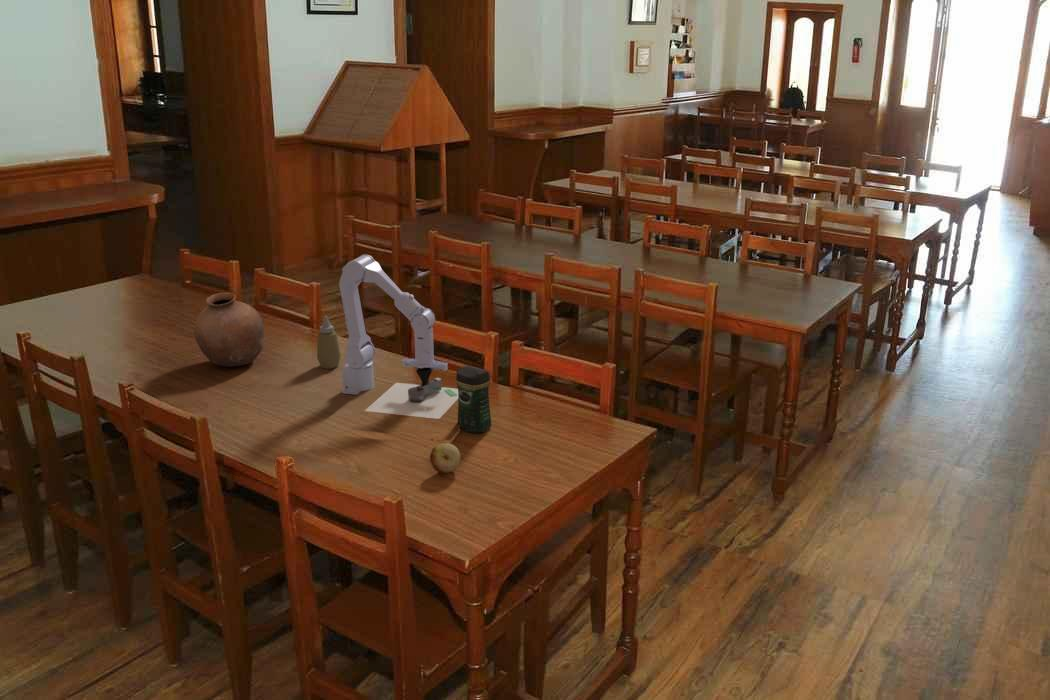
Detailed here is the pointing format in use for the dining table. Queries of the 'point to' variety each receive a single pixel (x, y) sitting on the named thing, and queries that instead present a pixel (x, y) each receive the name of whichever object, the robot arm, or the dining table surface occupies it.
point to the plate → (400, 405)
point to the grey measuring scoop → (424, 390)
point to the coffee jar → (473, 399)
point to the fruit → (445, 457)
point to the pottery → (229, 331)
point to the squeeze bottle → (328, 346)
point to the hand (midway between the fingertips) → (425, 389)
